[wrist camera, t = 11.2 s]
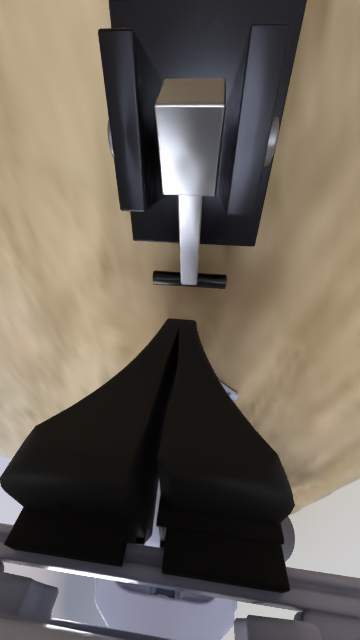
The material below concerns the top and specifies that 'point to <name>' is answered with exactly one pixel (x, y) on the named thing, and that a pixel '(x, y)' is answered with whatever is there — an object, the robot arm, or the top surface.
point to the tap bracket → (198, 62)
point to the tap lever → (190, 165)
